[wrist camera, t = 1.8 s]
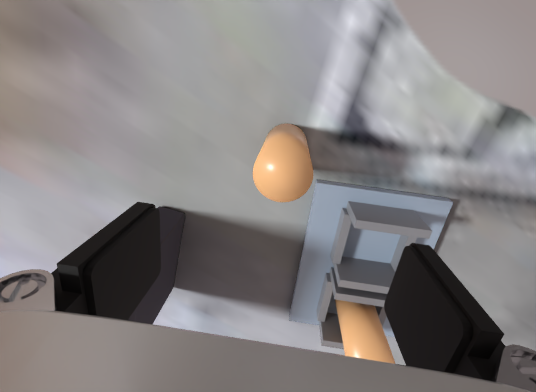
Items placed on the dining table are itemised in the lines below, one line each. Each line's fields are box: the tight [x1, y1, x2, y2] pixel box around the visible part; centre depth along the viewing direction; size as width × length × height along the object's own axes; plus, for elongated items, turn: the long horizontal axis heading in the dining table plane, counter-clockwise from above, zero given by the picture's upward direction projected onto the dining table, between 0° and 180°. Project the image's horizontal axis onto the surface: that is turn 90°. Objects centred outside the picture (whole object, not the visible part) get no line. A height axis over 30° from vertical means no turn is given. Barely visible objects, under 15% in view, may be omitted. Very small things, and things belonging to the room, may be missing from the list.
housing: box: [289, 179, 453, 364], centre depth 27 cm, size 18×13×10 cm
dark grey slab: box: [127, 207, 185, 324], centre depth 26 cm, size 11×4×15 cm, turn 165°
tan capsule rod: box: [253, 124, 313, 202], centre depth 23 cm, size 4×4×9 cm
